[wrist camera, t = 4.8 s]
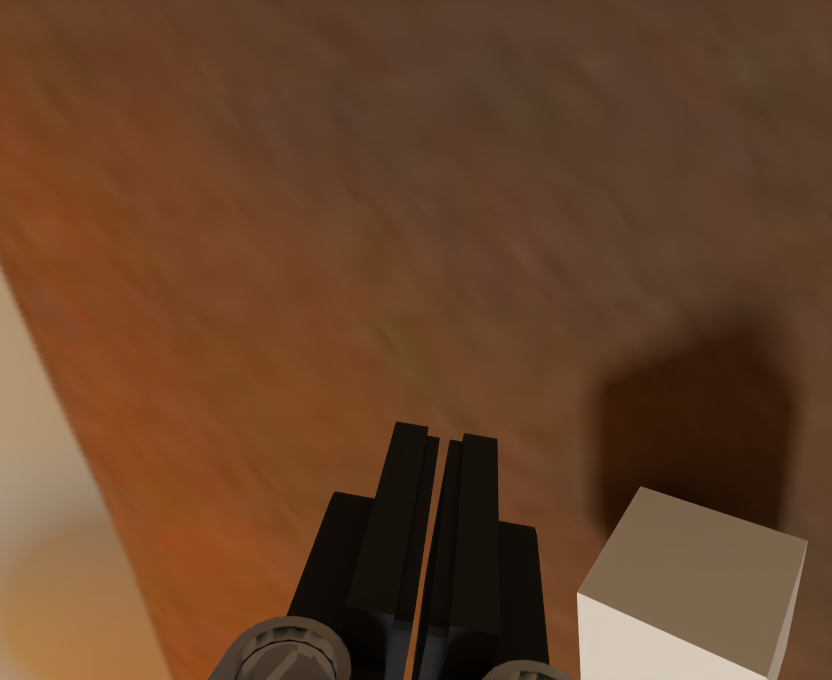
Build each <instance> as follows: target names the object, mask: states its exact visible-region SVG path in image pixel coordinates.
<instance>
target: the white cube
mask: <svg viewBox="0 0 832 680" xmlns="http://www.w3.org/2000/svg"><path fill="white" fill-rule="evenodd" d="M807 543H808V541H806V540H803V539H800V538H797V537H794V536H791V535H788V534H785V533H782V532H779V531H776V530H773V529H770V528H767V527H764V526H761V525H757V524H754V523H751V522H748V521H745V520H742V519H739V518H736V517H733V516H730V515H727V514H724V513H721V512H718V511H715V510H712V509H709V508H705V507H702V506H699V505H696V504H693V503H690V502H687V501H684V500H681V499H678V498H675V497H672V496H669V495H666V494H663V493H660V492H657V491H653V490H650V489H647V488H644V487H641V486H640V488H639V490H638V491H637V493H636V495H635V496H634V498H633V500H632V501H631V503H630V505H629V506H628V508H627V510H626V511H625V513H624V515H623V516H622V518H621V520H620V521H619V523H618V525H617V526H616V528H615V530H614V531H613V533H612V535H611V536H610V538H609V540H608V541H607V543H606V545H605V546H604V548H603V550H602V551H601V553H600V555H599V556H598V558H597V560H596V561H595V563H594V565H593V566H592V568H591V570H590V571H589V573H588V575H587V576H586V578H585V580H584V582H583V583H582V585H581V587H580V588H579V590H578V592H577V602H578V624H579V646H580V668H581V680H777V678H778V674H779V671H780V667H781V664H782V660H783V657H784V653H785V650H786V646H787V641H788V636H789V631H790V626H791V621H792V616H793V612H794V607H795V602H796V597H797V592H798V587H799V582H800V577H801V572H802V567H803V562H804V557H805V552H806V548H807Z"/></svg>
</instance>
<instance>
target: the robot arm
mask: <svg viewBox="0 0 832 680" xmlns="http://www.w3.org/2000/svg"><path fill="white" fill-rule="evenodd" d="M427 433H428V427H426V426H420V425H414V424H409V423H403V422H396V424H395V427H394V431H393V435H392V438H391V442H390V445H389V449H388V453H387V456H386V460H385V464H384V467H383V471H382V474H381V478H380V482H379V485H378V489H377V493H376V496H375V499H374V498H369V497H363V496H358V495H352V494H346V493H341V492H334V493H333V495H332V498H331V500H330V502H329V505H328V508H327V510H326V513H325V516H324V518H323V521H322V524H321V526H320V529H319V531H318V534H317V537H316V539H315V542H314V545H313V547H312V550H311V553H310V555H309V558H308V560H307V563H306V566H305V568H304V571H303V574H302V576H301V579H300V582H299V584H298V587H297V589H296V592H295V595H294V597H293V600H292V603H291V605H290V608H289V611H288V613H287V616H286V617H275V618H272V619H269V620H266V621H263V622H260V623H257V624H256V625H254V626H252V627H251V628H249V629H248V630H246V631H245V632H243V633H241V635H240V636H239V637H238V638H237V639H236V640H235V641H234V642H233V643H232V645H231V646H230V647H229V648H228V650H227V651H226V653H225V654H224V656H223V657H222V659H221V660H220V662H219V663H218V665H217V666H216V668H215V669H214V671H213V672H212V674H211V675H210V677H209V678H208V680H403V677H404V672H405V666H406V660H407V655H408V649H409V643H410V638H411V632H412V626H413V620H414V613H415V607H416V600H417V594H418V587H419V580H420V573H421V566H422V559H423V552H424V545H425V538H426V531H427V524H428V517H429V510H430V503H431V496H432V489H433V482H434V475H435V468H436V461H437V454H438V447H439V440H440V438H438V437H433V436H427ZM412 680H574V679H572V678H571V677H570V676H568V675H567V674H566V673H564V672H563V671H561V670H558V669H556V668H554V667H552V666H550V665H549V655H548V644H547V634H546V624H545V614H544V603H543V593H542V583H541V573H540V562H539V552H538V542H537V534H536V530H535V528H534V527H530V526H525V525H519V524H514V523H508V522H502V521H499V513H498V446H497V439H495V438H489V437H484V436H478V435H472V434H466V433H464V436H463V440H462V442H461V441H456V440H450V443H449V448H448V453H447V459H446V464H445V470H444V475H443V481H442V486H441V492H440V497H439V503H438V509H437V514H436V520H435V525H434V531H433V536H432V542H431V547H430V553H429V558H428V564H427V570H426V576H425V582H424V589H423V597H422V604H421V612H420V620H419V627H418V635H417V642H416V650H415V657H414V665H413V672H412Z"/></svg>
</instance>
